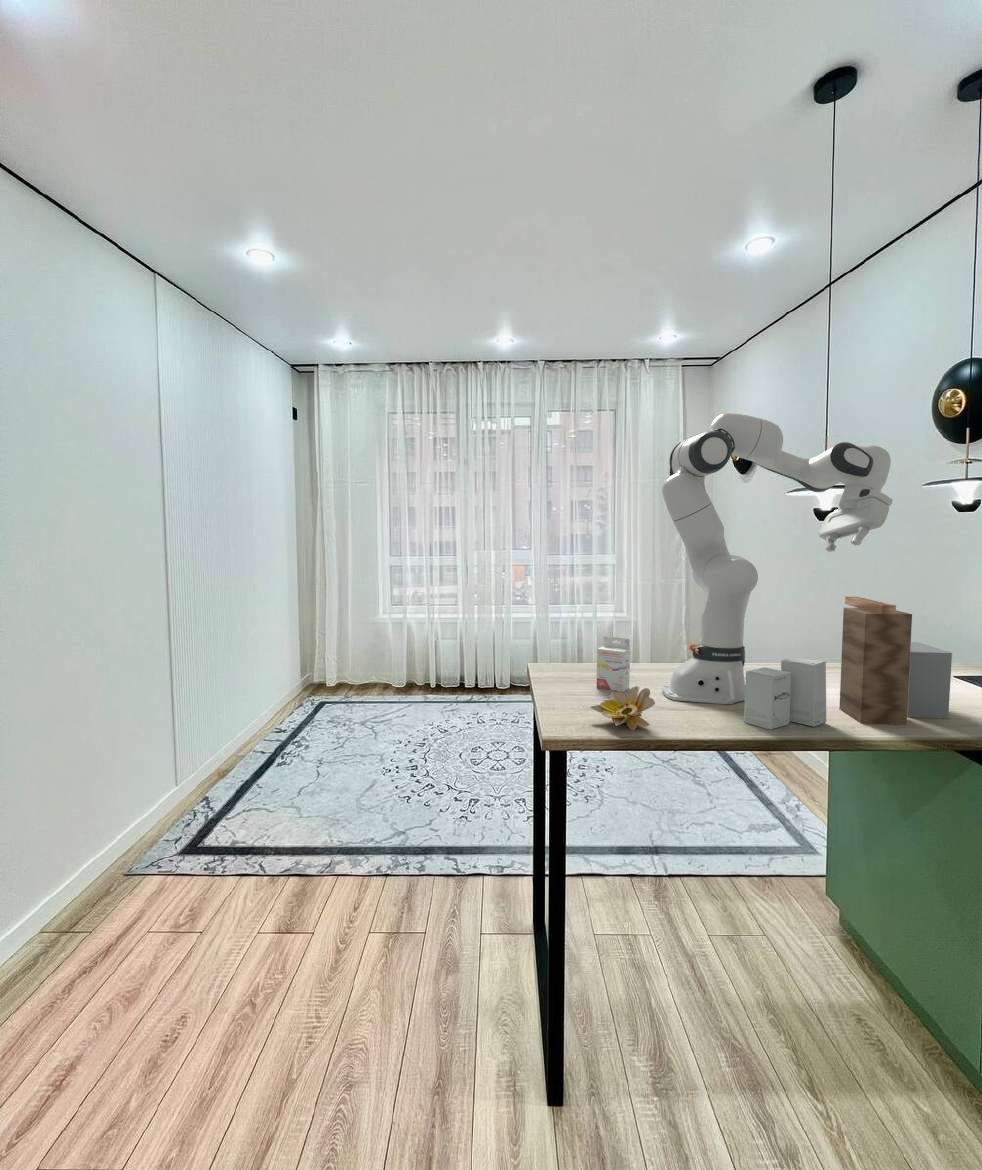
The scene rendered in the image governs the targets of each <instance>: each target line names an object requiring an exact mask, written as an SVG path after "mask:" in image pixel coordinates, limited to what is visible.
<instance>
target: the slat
mask: <svg viewBox="0 0 982 1170" xmlns="http://www.w3.org/2000/svg"><path fill="white" fill-rule="evenodd" d="M844 605H846V606H847V605H848V606H850V607H853V608H861V609H865V610H869V611H873V612H876V613H880V614H896V611H897V605H896V604H891V603H887V602H882V601H878V600H873V599H868V598H865V597H859V596H845V597H844Z"/></svg>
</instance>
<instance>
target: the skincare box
mask: <svg viewBox="0 0 982 1170" xmlns="http://www.w3.org/2000/svg"><path fill="white" fill-rule="evenodd" d="M826 665H827V662H826V661H825V660H819V659H811V658H810V659H809V658H801V657H795V656H792V657H789V658H785V659H782V660H780V670H781V671H786V672H791V694H790V717H789V722H793V723H797V724H801V725H805V726H809V727H813V728H814V727H817V726H821V725H824V724H826V723H827V668H826V667H827V666H826Z"/></svg>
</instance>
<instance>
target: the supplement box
mask: <svg viewBox="0 0 982 1170" xmlns="http://www.w3.org/2000/svg"><path fill="white" fill-rule="evenodd" d="M790 694H791V672H786V671H781V669H774V668H768V667H761V668H756V669H750V670H749V669H748V670H746V671H745V700H744V708H743V709H744V711H743V712H744V713H743V715H744V716H743V722H744V723H746V724H750V725H751V726H752V725H753V726H755V727H760V728H762V729H766V730H770V731H771V730H773V729H777V728H781V727H784V726H789V725H790V721H789V717H790Z"/></svg>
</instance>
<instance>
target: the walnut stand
mask: <svg viewBox="0 0 982 1170" xmlns="http://www.w3.org/2000/svg"><path fill="white" fill-rule="evenodd" d="M842 617H843V618H842V634H841V635H842V639H841V660H840V661H841V662H840V682H839V683H840V685H839V688H840V689H839V706H838V707H839V710H840V709H841V710H840V711H842V712H844V713H845V714H846V715H848V716H849V717H851V718H852V719H853V720H855V721H857V722H858V723H860V724H874V725H877V724H878V725H900V726H901V725H902V726H903V725H904V726H905V725H907V722H908V717H907V705H908V686H909V666H910V647H911V642H912V624H913V623H912V622H913V613H908V612H904V611H900V610H896V614H880V613H876V612H873V611H869V610H865V609H861V608H857V607H843V615H842Z"/></svg>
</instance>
